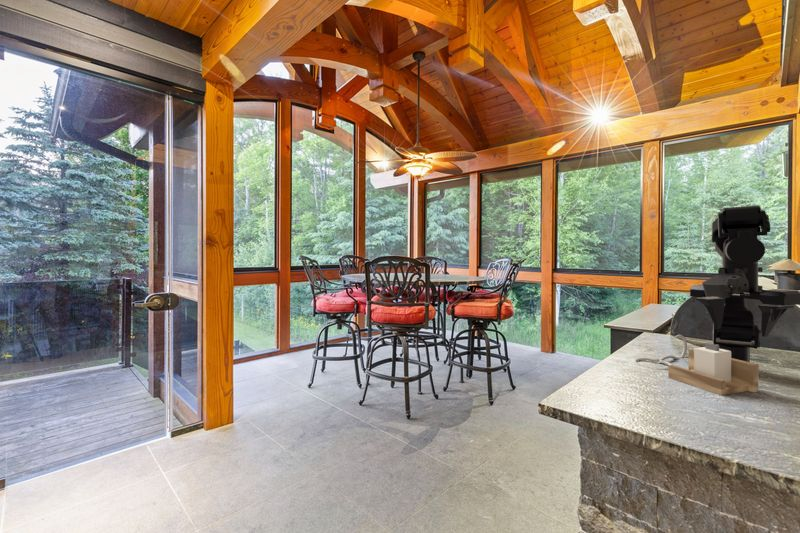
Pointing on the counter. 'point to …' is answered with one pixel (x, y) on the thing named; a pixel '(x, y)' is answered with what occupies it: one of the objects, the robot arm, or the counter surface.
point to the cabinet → (713, 362)
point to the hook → (664, 356)
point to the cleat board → (741, 379)
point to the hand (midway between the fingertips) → (740, 332)
